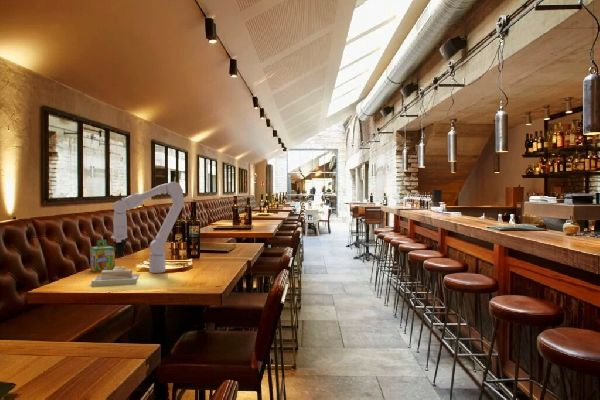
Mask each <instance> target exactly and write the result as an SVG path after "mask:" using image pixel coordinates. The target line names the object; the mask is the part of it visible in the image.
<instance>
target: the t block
mask: <svg viewBox="0 0 600 400" xmlns="http://www.w3.org/2000/svg"><path fill="white" fill-rule="evenodd" d="M100 272H101V273H100V276H101V280H116V279H132V274H133V268H132V269H129V268H128V269H125V266H115V267H114V269H113V270H102V271H100Z"/></svg>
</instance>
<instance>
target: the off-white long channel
mask: <svg viewBox="0 0 600 400" xmlns="http://www.w3.org/2000/svg"><path fill="white" fill-rule="evenodd" d="M91 283H92V286H91V287H99V286H100V287H102V286H103V285H105V286H120V285H121V286H123V285H122V284H124V285H136V284H137V283H138V280H137V277H134V279H116V280H96V279H95V278H93V279H92V280H91Z"/></svg>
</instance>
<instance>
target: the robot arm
mask: <svg viewBox="0 0 600 400" xmlns="http://www.w3.org/2000/svg"><path fill="white" fill-rule="evenodd" d="M159 194H164V195H166V194H168V195H169V196H170V199H171V200H172V201H171V202H172V205H171V207H170V209H169V211H168V212H167V214H166V217H165V218H164V221H163V222H162V225H161V227H160V229H159V231H158V233H156V236H155V238H153V240H152V241H150V243H149V249H150V253H148V255H149V256H148V257H149V260H148V262H149V263H148V264H149V266H148V267H149V272H148V273H150V274H151V273H152V274H157V273H159V274H160V273H165V272H166V252H165V249H166V247H165V246H166V243H167V241H168V237H169V236H170V234H171V231H172V229H173V227H174V225H175V224H176V221H177V219H178V217H179V215H180V213H181V211H182V210H183V207H184V205H185V199H184V198H185V197H184V190H183V188H182V186H181V184H180V183H178V182H177V181H170V182H168V183H163V184H160V185H157V186H155V187H153V188H151V189H149V190H147V191H144V192H143V193H139V192H132V193H131V195H128V196H127V197H121V200H120V199H119V200H117V201H115V202H114V203H113V204H112V205H113V206H112V208H113V210H114V211H113V219H112V221H113V235H112V236H110V238H111V239H113V240H114V241H113V244H114V248H115V251H116V254H117V257H124V255H125V248H126V245H127V242H128V220H127V219H128V218H127V217H128V216H127V210H131V209H134V208H136V207H138V206H140V205H142V204H143V203H144V201H145V200H147V199H149V198H152V197H155V196H157V195H159Z"/></svg>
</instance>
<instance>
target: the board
mask: <svg viewBox="0 0 600 400" xmlns="http://www.w3.org/2000/svg"><path fill="white" fill-rule="evenodd" d="M140 276H141V273H132V279H134V277H137V281H139V277H140ZM94 279H96V280H101V275H97V276H96V277H95V278H94ZM123 285H125V284H122V285H121V286H123ZM103 286H106V285H103ZM89 287H93V286H92V282H91V283H90V284H89Z"/></svg>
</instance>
